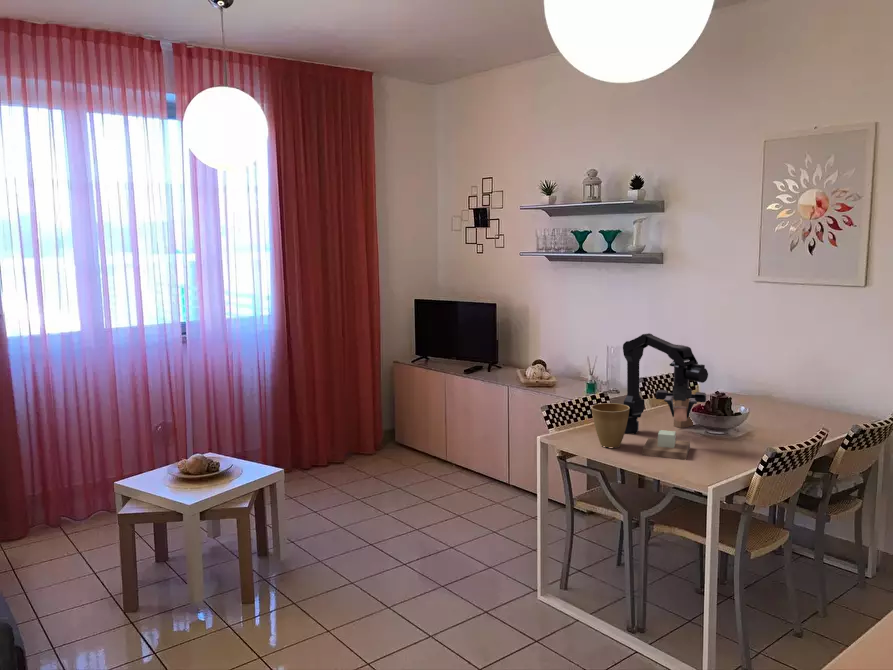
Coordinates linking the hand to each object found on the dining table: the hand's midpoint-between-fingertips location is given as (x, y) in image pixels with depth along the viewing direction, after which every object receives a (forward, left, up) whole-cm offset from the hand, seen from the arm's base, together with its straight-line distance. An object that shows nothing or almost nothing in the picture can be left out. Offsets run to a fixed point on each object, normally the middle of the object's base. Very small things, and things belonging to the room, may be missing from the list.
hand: (680, 417), depth 287 cm
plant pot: (-26, -8, -12) cm, 30 cm away
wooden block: (-1, +33, -12) cm, 35 cm away
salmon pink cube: (0, 0, -1) cm, 1 cm away
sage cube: (-4, -8, -10) cm, 13 cm away
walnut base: (-4, -8, -12) cm, 15 cm away
